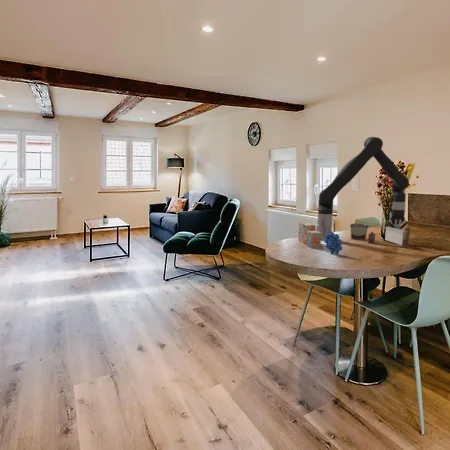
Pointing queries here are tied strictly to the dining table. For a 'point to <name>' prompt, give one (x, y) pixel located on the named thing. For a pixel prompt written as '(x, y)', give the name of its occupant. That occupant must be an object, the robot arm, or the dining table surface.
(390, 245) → the sill
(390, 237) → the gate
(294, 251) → the dining table surface
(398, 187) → the robot arm
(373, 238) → the latch post
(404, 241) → the hinge post
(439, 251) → the dining table surface
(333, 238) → the grapes
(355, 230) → the food container
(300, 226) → the stack of blocks
